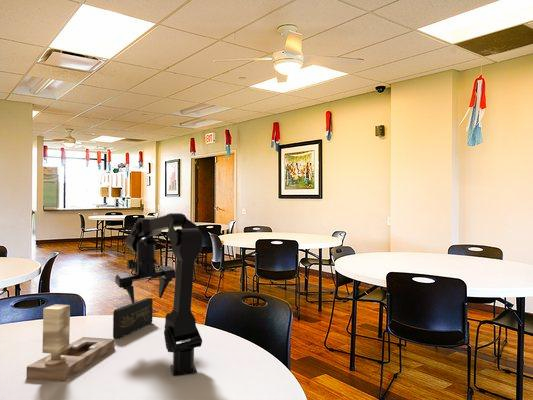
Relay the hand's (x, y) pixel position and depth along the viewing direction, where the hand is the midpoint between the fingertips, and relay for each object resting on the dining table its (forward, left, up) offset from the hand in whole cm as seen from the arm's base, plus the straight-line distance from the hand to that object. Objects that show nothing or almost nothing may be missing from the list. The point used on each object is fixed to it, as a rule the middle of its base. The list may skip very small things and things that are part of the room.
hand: (146, 300), depth 134 cm
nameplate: (+15, +3, -14) cm, 21 cm away
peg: (-18, +25, -11) cm, 32 cm away
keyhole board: (-11, +20, -14) cm, 27 cm away
